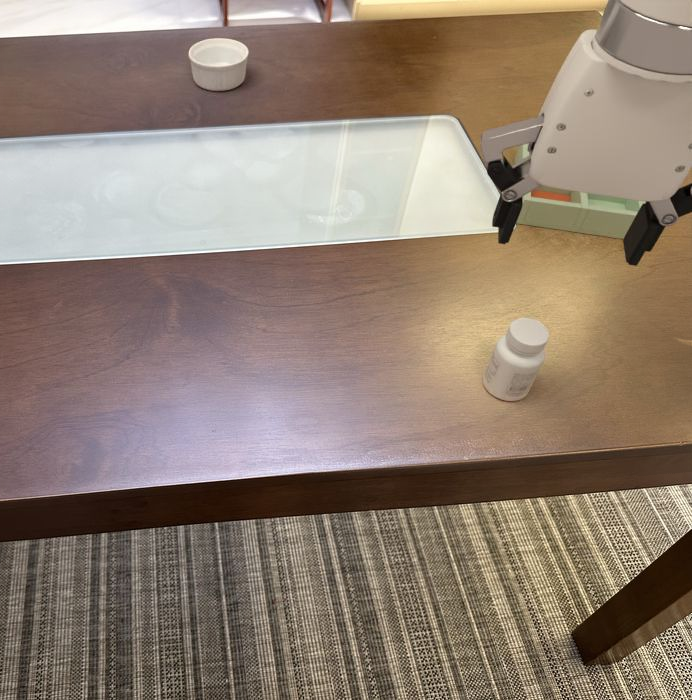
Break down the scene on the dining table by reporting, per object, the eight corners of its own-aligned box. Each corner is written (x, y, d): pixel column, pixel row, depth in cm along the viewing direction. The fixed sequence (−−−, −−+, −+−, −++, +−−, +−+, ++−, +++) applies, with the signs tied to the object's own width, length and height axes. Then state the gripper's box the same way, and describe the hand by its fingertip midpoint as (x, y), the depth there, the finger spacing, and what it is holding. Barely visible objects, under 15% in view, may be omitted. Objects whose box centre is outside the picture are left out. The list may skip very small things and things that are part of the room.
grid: (623, 174, 93) (635, 150, 90) (635, 241, 84) (649, 217, 81) (514, 159, 95) (522, 136, 92) (515, 223, 86) (524, 199, 84)
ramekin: (182, 90, 107) (181, 62, 104) (198, 61, 113) (197, 34, 110) (240, 97, 106) (241, 69, 103) (253, 68, 111) (254, 40, 108)
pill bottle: (536, 383, 70) (564, 329, 64) (514, 410, 68) (540, 357, 62) (495, 360, 72) (519, 305, 66) (473, 385, 70) (495, 331, 64)
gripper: (803, 20, 45) (674, 231, 58) (519, -11, 48) (456, 197, 61) (837, 79, 41) (688, 295, 54) (520, 41, 43) (451, 255, 56)
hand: (564, 243), depth 57 cm, fingers open, 9 cm apart
